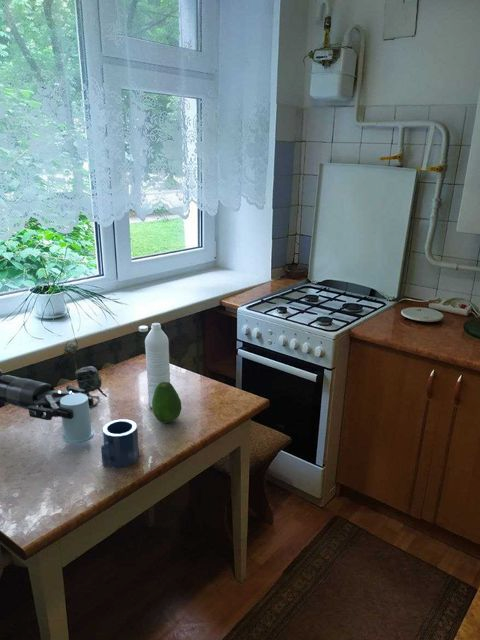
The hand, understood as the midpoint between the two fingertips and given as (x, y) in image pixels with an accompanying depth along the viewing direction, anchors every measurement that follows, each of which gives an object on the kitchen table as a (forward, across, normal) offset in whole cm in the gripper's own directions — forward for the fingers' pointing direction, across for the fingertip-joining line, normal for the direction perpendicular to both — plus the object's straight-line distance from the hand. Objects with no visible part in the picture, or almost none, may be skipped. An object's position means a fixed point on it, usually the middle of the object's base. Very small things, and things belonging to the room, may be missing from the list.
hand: (82, 408), depth 120 cm
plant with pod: (-15, +18, +11) cm, 26 cm away
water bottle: (+4, +26, +11) cm, 28 cm away
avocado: (+12, +19, +11) cm, 25 cm away
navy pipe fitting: (+11, -2, +11) cm, 16 cm away
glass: (-2, 0, +8) cm, 9 cm away
